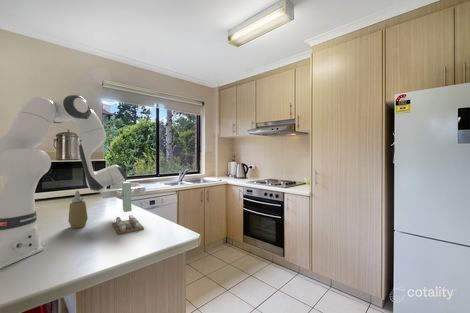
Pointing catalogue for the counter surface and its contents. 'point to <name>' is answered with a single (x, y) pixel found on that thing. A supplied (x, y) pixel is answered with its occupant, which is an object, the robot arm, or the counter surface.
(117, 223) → the walnut channel board
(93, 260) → the counter surface
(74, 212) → the squeeze bottle
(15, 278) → the counter surface
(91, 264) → the counter surface
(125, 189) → the sage slat
